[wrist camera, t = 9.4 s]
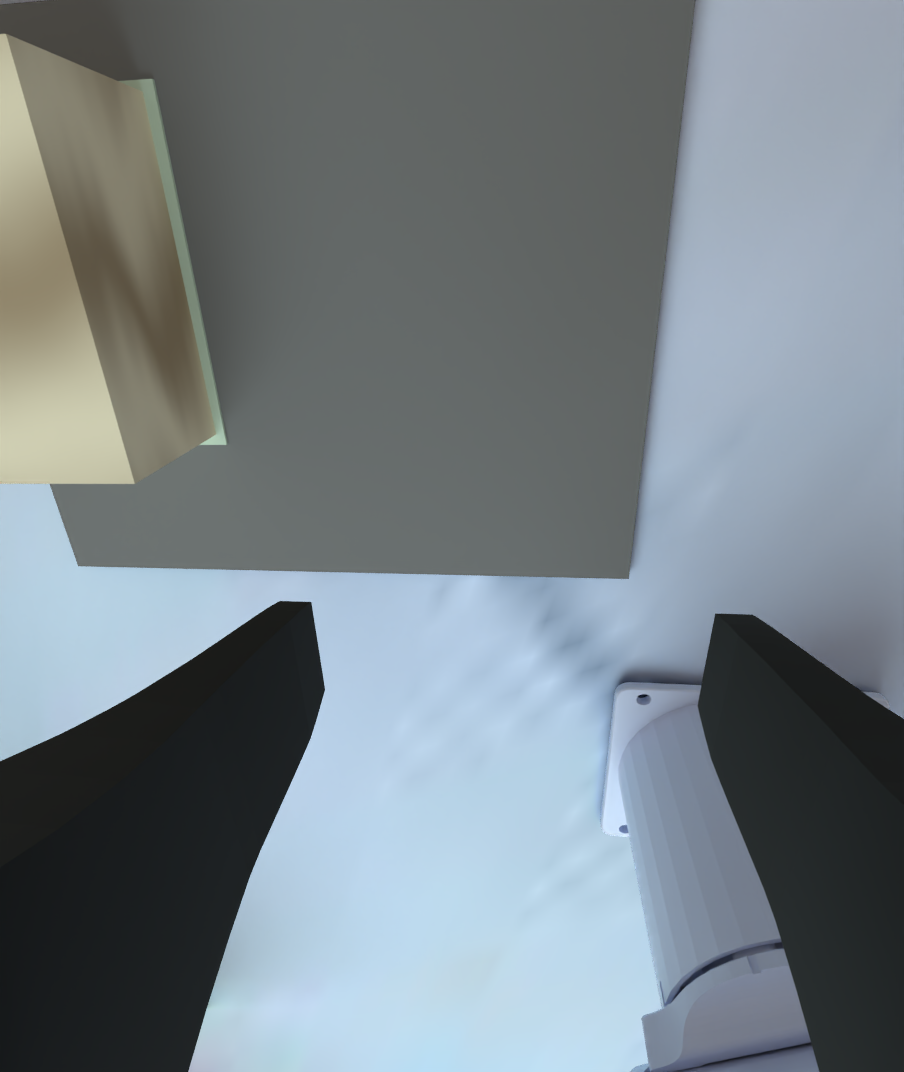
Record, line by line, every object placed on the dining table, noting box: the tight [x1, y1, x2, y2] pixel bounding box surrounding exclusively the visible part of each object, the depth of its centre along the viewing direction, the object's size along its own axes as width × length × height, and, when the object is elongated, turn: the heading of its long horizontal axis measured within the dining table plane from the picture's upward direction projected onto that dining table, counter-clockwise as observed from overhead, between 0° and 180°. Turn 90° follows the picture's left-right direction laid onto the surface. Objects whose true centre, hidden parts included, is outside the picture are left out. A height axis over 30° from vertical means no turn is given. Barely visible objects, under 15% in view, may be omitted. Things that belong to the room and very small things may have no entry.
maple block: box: [0, 34, 216, 484], centre depth 15 cm, size 9×5×4 cm, turn 2°
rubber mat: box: [0, 0, 695, 579], centre depth 18 cm, size 20×16×1 cm
